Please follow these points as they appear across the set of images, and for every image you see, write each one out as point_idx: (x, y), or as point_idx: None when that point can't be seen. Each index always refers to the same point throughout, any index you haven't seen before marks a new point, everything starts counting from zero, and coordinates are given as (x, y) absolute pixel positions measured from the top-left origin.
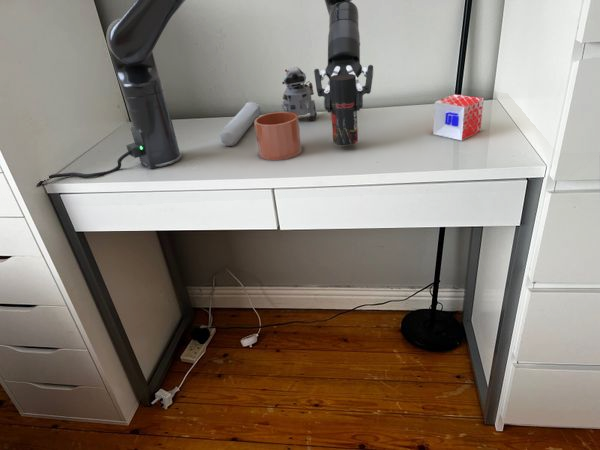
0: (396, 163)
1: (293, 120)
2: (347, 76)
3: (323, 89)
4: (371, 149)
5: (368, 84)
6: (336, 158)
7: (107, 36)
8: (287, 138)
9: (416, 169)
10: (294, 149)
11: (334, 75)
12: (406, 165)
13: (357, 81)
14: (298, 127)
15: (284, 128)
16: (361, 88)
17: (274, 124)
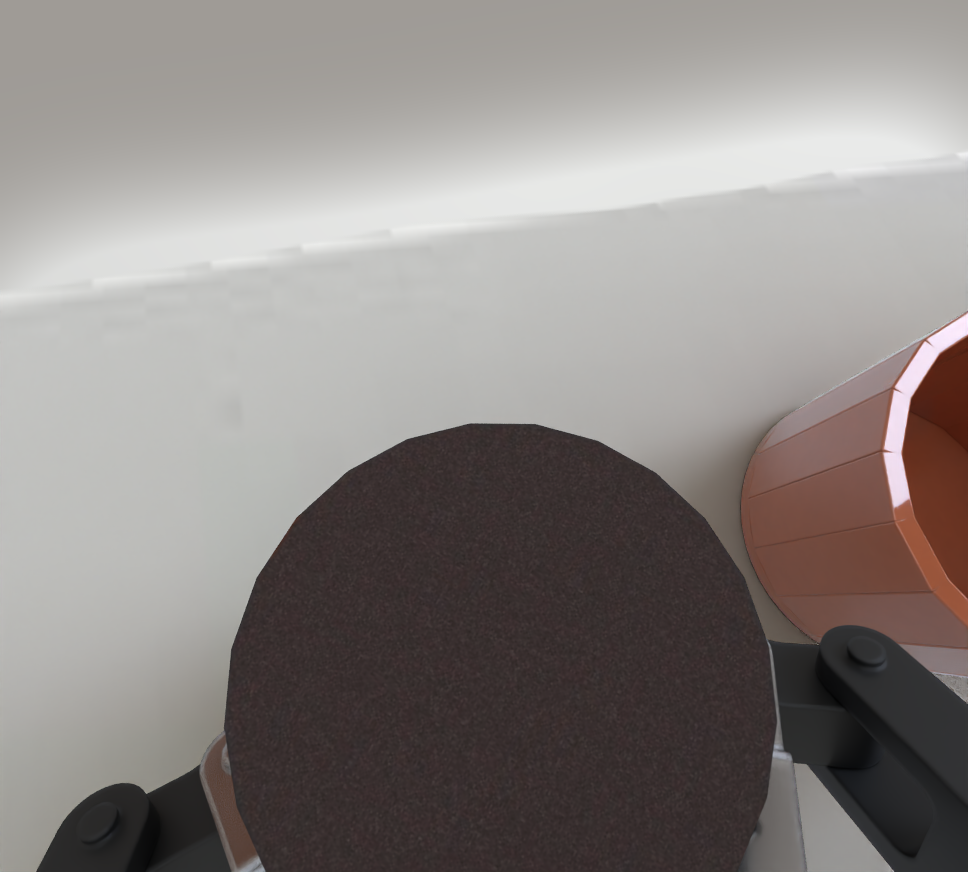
0: (121, 401)
1: (885, 426)
2: (404, 730)
3: (804, 697)
4: None
5: (80, 853)
6: None
7: None
8: (837, 394)
9: (12, 332)
10: (767, 454)
11: (728, 859)
12: (65, 378)
13: (258, 866)
14: (836, 518)
15: (896, 356)
16: (217, 766)
17: None
